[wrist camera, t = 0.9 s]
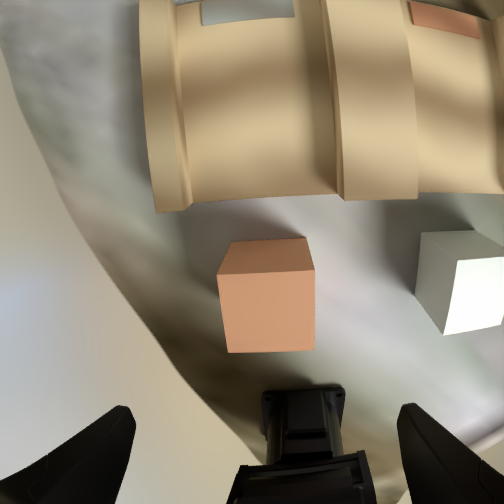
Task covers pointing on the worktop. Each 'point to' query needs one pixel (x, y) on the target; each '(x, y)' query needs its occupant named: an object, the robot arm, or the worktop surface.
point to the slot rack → (319, 100)
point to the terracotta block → (268, 296)
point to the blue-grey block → (460, 280)
